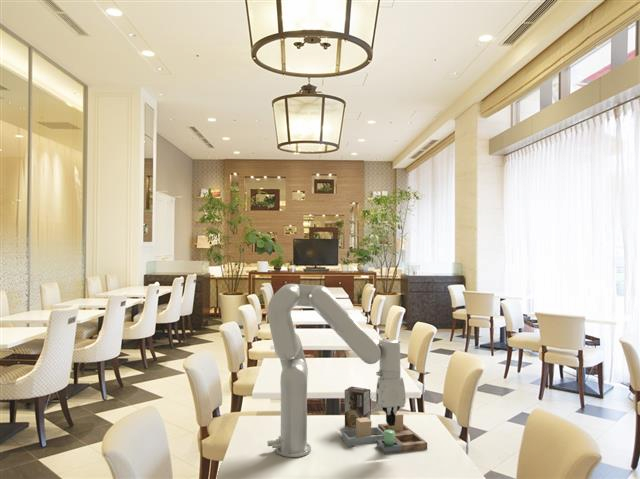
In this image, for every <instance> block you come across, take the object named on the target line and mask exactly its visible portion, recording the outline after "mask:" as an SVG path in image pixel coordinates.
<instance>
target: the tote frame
mask: <svg viewBox="0 0 640 479" xmlns="http://www.w3.org/2000/svg"><path fill="white" fill-rule="evenodd" d="M340 432H341V433H340V439H341V440H342V441H343V442H344V444H345V445H346V446H347V448H352V447H354V445H362V444H370V443H372V444H373V443H377V440H383V439H384V432H383V431H382V430H380V429H379V428H378V426H375V427H372V426H371V436H366V437H357V438H356V429H344V430H340ZM374 434H375V435H374ZM376 434H377V435H376Z"/></svg>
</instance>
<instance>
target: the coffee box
mask: <svg viewBox="0 0 640 479" xmlns="http://www.w3.org/2000/svg"><path fill="white" fill-rule="evenodd" d="M365 417H367V418H368V419H369V420H371V389H370V388H363V387H357V386H349V387H347V388H346V389H344V428H346V429H348V430H352V429H356V418H365Z"/></svg>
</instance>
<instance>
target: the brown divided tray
mask: <svg viewBox="0 0 640 479" xmlns="http://www.w3.org/2000/svg"><path fill="white" fill-rule="evenodd" d="M377 427H378V428H379V429H380V430H382V431H383V432H384V430H388V424H387V423H380V424H377ZM395 440H397V441H398V442H399V443H400V444H401V445H402V452H401V453H403V452H413V451H421V450H427V449H428V441H426V440H425V439H424V438H422V437H421V436H420V435H418V434H416V432H414V431H413V430H412V429H410V428H409V427H408V426H407V425H405V424H404V423H403V431H396V432H395Z"/></svg>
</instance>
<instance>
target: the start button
mask: <svg viewBox="0 0 640 479" xmlns="http://www.w3.org/2000/svg"><path fill="white" fill-rule="evenodd" d="M384 444H385V445H386V446H390V445H395V431H393V430H384Z"/></svg>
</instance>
